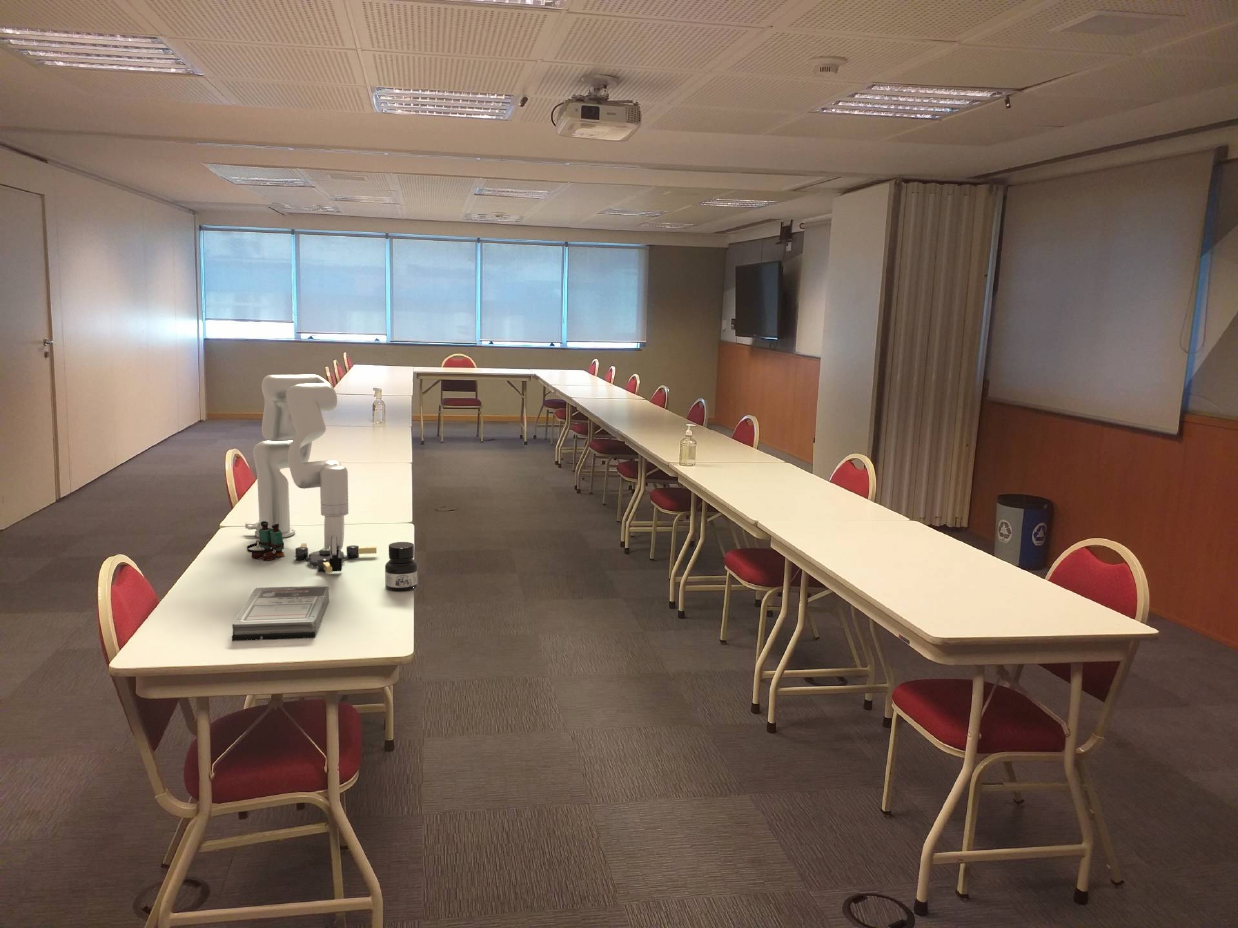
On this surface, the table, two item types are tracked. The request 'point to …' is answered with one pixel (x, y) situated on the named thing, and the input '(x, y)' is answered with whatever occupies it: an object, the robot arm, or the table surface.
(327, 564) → the knob
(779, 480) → the table surface
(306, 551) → the knob
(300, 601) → the hard drive
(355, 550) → the knob
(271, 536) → the binoculars
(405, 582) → the ink bottle
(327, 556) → the tribrach plate
